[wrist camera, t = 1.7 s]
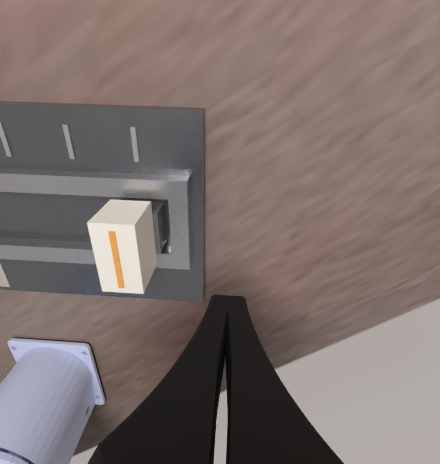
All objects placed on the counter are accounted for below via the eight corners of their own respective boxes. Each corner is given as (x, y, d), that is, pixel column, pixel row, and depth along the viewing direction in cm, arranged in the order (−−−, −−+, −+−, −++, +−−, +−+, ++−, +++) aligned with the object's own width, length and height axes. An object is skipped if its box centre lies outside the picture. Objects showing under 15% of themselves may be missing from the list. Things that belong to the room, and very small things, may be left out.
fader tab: (167, 249, 21) (148, 295, 16) (126, 246, 21) (96, 292, 16) (163, 190, 18) (139, 226, 14) (117, 188, 19) (79, 223, 14)
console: (204, 291, 24) (201, 310, 22) (-51, 276, 25) (-76, 293, 23) (204, 108, 17) (199, 112, 15) (-147, 96, 18) (-194, 99, 16)
